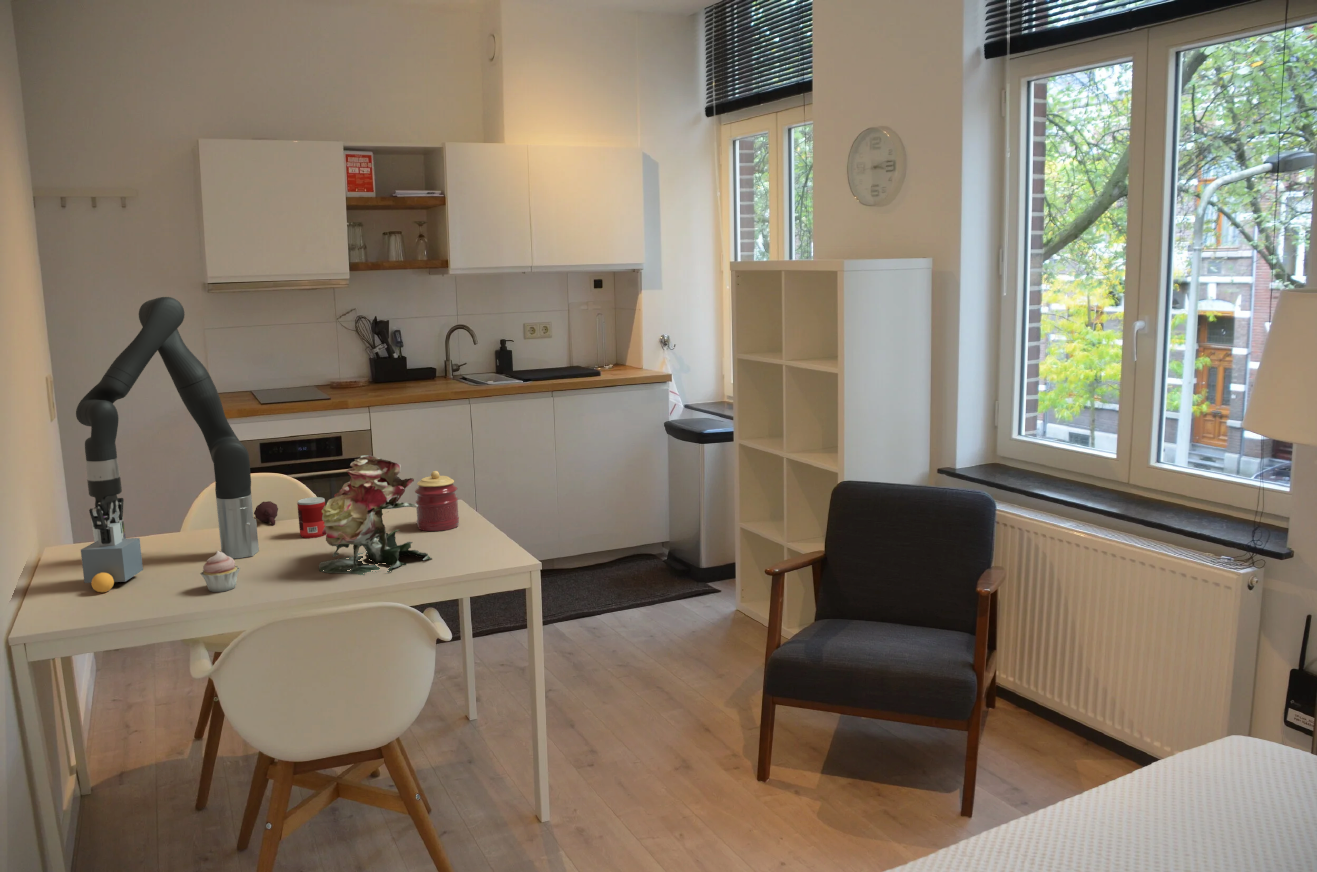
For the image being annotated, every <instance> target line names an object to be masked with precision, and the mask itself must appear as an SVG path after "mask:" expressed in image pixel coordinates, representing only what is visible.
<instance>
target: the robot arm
mask: <svg viewBox="0 0 1317 872" xmlns="http://www.w3.org/2000/svg"><path fill="white" fill-rule="evenodd" d="M185 315H186V314H185V309H184V306H183V305H182V303H181V302H180V301H179V300H177V299H176V298H174V297H171V296H162V297H161V296H160V297H156V298H153V299H150V300H146V301H145V302H144V303H142V304H141V306H140V308H139V310H138V320H139V322H140V324H141V326H142V328H141V329H140V331H139V332H138V334H137V335H136V336H135V337H134V339H133V340H132V341H131V342H130V343H129V344H128V345H127V346H126V348H125V349H124V350H122V351H121V353H119V355H117V357H116V358H115V360H114V361H112V362H111V364H110V366H109V367H108V369H107V370H106V372H104V375H103V376H102V377H101V379H100V381H99V382H98V383H97V384H96V385H95V386H93V388H91V389H90V391H89V392H87V393H86V394H85V395H84V396H83V397H82V398H81V400H80V401H79V403H78V405H77V407H76V410H75V417H76V419H77V422H79V424H81V425H83V426H86V427H91V428H90V429H91V431H90V436H89V437H88V438H86V439H85V441H84V453H85V463H86V464H85V465H86V466H85V472H86V480H87V482H86V483H87V488H88V489H87V490H88V495H89V496H90V497H92V498H94V508H89V510H88V511H89V516H90V519H92V521H91V523H92V522H93V525H94V528H95V529H98V530H100V535H101V543H102V544H109V543H111V534H110V523H120V520H122V519H123V520H124V500H125V499H124V498H123V497H118V495H119V494H121V493H122V491H123V490H122V481H121V479H122V478H121V471H120V470H121V469H120V464H119V460H118V454H117V451H118V450H117V445H116V439H117V436H118V435H117V434H118V429H119V413H118V410H117V408H116V406H115V404H114V403H115V402H116V401H118V400H120V399H124V398H125V397H127V395H128V394H129V392H131V390H132V388H133V386H134V385H135V384H136V382H137V380H138V379H139V377H140V376H141V374H142V373H143V371H144V369H145V368H146V367H147V365H149V362H150V361H151V359H152V358H153V357H154V356H155V354H156V352H158V353H159V355H160V358H161V360H162V361H163V363H164V366H165V369H166V370H167V372H168V374H169V376H170V378H171V380H172V383H173V384H174V387H175V389H176V391H177V393H178V395H179V397H180V399H181V401H182V402H183V403H182V404H184V406H185V407H186V410H187V411H188V413H189V414H190V415H191V417H192V418H193V420H194V422H195V423H196V424H197V427H199V429H200V430H201V432H202V435H203V438H204V440H205V443H206V445H207V446H206V447H207V448H208V452H209V454H210V457H211V461H212V463H213V470H214V471H213V473H214V479H215V482H214V483H215V485H214V486H215V502H216V511H217V521H218V522H217V523H218V531H219V540H220V552H222V553H224V554H225V555H226V556H229V557H231V558H233V559H234V560H235V559H242V558H243V559H244V558H247V557H248V558H249V557H254V555H256V554H257V553H258V552H260V547H259V536H258V525H257V518H254V511H253V500H252V499H253V498H252V488H251V487H252V477H251V465H250V464H251V463H250V455H249V451H248V449H247V448H246V447H245V445H244V444H243V443H242V442H241V440H240V439H239V438H238V436H237V435H236V433H235V432H234V430H233V428H232V426H231V424H229V423H230V422H229V421H228V419H227V417H226V414H225V410H224V408H223V404H222V400H221V397H220V394H219V392H218V389H217V388H216V384H215V383H214V382H213V381H214V380H213V379H212V377H211V375H210V373H209V371H208V370H207V368H206V366H204V364H203V363H202V362H201V361H200V359H198V357H197V356H195V355H194V353H193V352H192V351H191V350H190V349H189V348H188V346H187V345H186V343H185V342H184V340H183V338H182V336H181V334H180V332H179V330H178V328H179V327H181V325H182V324H183V322H184V321H185V320H184V319H185ZM103 516H105V517H103ZM105 521H106V523H105ZM97 522H98V523H97Z"/></svg>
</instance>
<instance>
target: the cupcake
mask: <svg viewBox="0 0 1317 872" xmlns="http://www.w3.org/2000/svg"><path fill="white" fill-rule="evenodd" d="M240 569H241V567H239V566H238V565H236V562H235V558H234V559H233V558H231V557H229V556H226V555H225V554H224V553H222V552H221V550H220V551H219V550H216V551H215V555H213V556H211V557H209V558H208V559H207V560H206V563H204V565H202V572H200V573H199V574H200V575H201V576H202V578H203V579H204V582H205V585H206V586H207V589H208V591H209V592H211V593H212V592H213V593H222V592H228V591H231V590H233V589H234V588H236V585H237V579H238V576H239V572H240Z"/></svg>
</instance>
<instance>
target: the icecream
mask: <svg viewBox="0 0 1317 872" xmlns="http://www.w3.org/2000/svg"><path fill="white" fill-rule="evenodd" d="M278 511H279V507H278V504H276V503H274V502H273V501H269V500H268V501H261V502H260V503H259V504H258V505H256V508H255V510H254V511H253V516H255V519H256V520H259V522H262V523H269V524H270V525H272V526H275V525H276V520H275V519H276V518H277V516H278Z"/></svg>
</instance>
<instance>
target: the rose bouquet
mask: <svg viewBox="0 0 1317 872" xmlns="http://www.w3.org/2000/svg"><path fill="white" fill-rule="evenodd" d="M401 465H402V464H399V463H398V462H395V461H391V460H386V459H383V458H381V457H377V456H376V455H360V457H359V458H354V461H351V463H350V465H349V466H350V467H351V468H347V469H346V470H345V471H346V472H347V473H346V474H348V475H349V476H350V479H349V481H348V482H345V483H344V484H343V486H341V489H339V491H338V492H337V493H335V494H334V497H332V498H330V499H328V500H327V502H326V503H325V506H324V508H323V510H322V513H323V516H322V520H323V522H324V525H325V527H324V529H323V532H322V534H323V535H324V534H326V535H324V536H325V541H326V544H328V545H329V546H331V547H336V550H335V551H334V552H333V553H332V558H335V557H337V556H339V555H340V553H339V552H338V550H340V549H341V548H346V549H348V548H349V547H350V545H353V546H352V549H353V555H352V556H347V557H346V556H345V557H339V558H337V559H336V558H335V559H330V560H327V561H321V562H320V563H319V564H318V569H319V570H318V572H321V573H322V572H323V573H325V574H327V573H328V574H353V575H354V574H356V575H359V576H361V575H363V576H366V575H365V574H367V572H371V570H379V569H380V568H379V567H377V566H376V565H375V564H378V563H386V564H387V565H391V566H389V567H390V568H389V569H388V570H389V571H387V572H390V571H391V572H390V573H392V571H393V569H395V568H399V566H400V567H403V566H402V565H404V566H407V562H401V561H399V558H400V557H403V556H408V555H413V556H415V557H417V556H418V558H420V557H419V556H422V557H424V558H423V559H422V560H423V561H425V560H430V559H431V558H432V557H431V556H429V554H428V553H426V552H421V551H419V550H416V549H411V548H412V544H413V541H406V542H404V543H402V544H397V541H396V533H397V532H399V531H400V529H395V530H393V531H391V532H390V533H389V532H387V531H386V526H385V524H384V521H383V515H384V513H383V510H394V509H402V508H410V507H411V508H416V507H418V505H416V503H411V502H399V500H400V499H401V497H402V496H403V494H404V493H405V491H406V488H408V487H411V486H412V485H411V484H412V483H413V482H415V478H413V477H412V478H411V477H410V478H404V479H402V478H400V477H399V476H398V475H399V474H400V473H401ZM389 512H390V511H387V512H385V514H387V513H389ZM362 546H363V548H364V551H365V552H366V551H367V552H366V554H368V555H367V557H368V558H367V560H368V559H370V560H372V561H371V562H372V564H374V565H369V564H370V563H369V564H363V563H362V561H358V560H360V559H361V558H363V556H358V555H360V554H363V553H364V552H359V550H360V548H361V547H362ZM410 549H411V550H410ZM358 552H359V553H358ZM430 557H431V558H430ZM346 558H349V559H346ZM387 565H386V566H387ZM350 569H351V570H350ZM323 570H324V571H323ZM347 570H350V571H347ZM372 572H373V571H372ZM375 572H376V571H375ZM363 573H364V574H363ZM376 573H377V572H376Z"/></svg>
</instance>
